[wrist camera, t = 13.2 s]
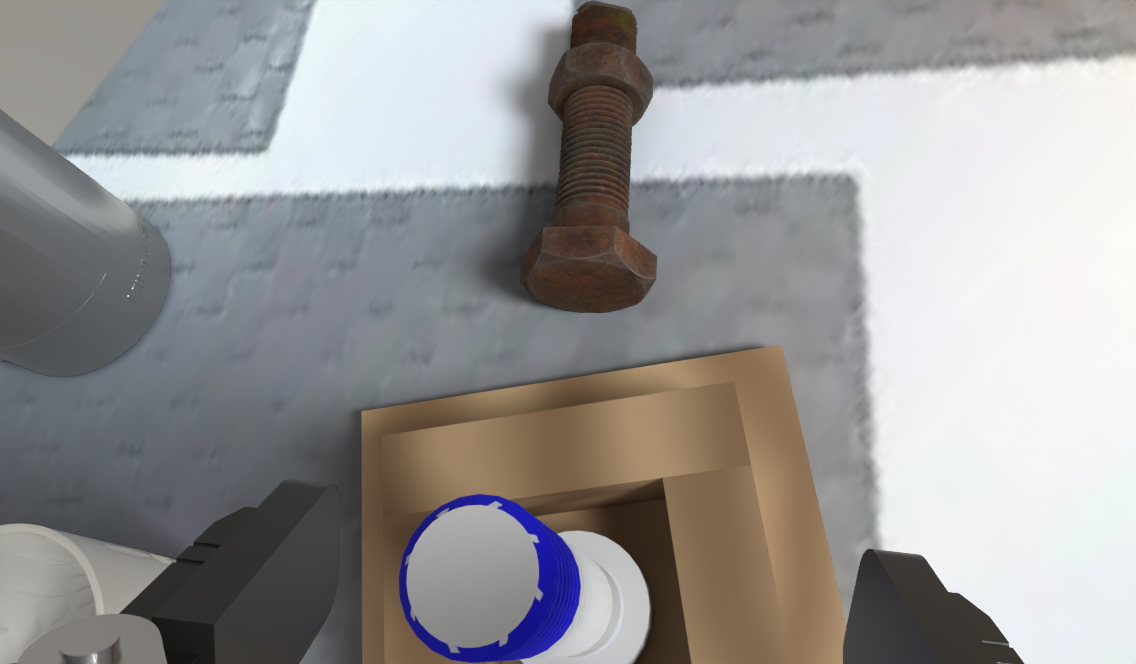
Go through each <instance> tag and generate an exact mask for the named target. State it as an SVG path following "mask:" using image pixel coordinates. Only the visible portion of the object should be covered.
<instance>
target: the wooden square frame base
mask: <svg viewBox="0 0 1136 664" xmlns="http://www.w3.org/2000/svg"><path fill="white" fill-rule="evenodd" d="M361 434H362V664H523V663H522V661H521V660H513V661H511V660H510V661H497V662H496V661H494V662H480V663H468V662H461V661H454V660H450V659H448V658H446V657H444V656H442V655H440V654H438V653H436V652H434V651H432V650H431V649H430V648H429V647H428V646H426V645H425V644H424V643H423V642H422V641H421V640H420V639H419V638H418V637H417V636H416V635H415V633H414V631H413V630H412V628H411V626H410V625H409V623H408V622H407V620H406V618H405V614H404V611H403V608H402V604H401V601H400V594H399V573H400V568H401V562H402V557H403V554H404V552H405V549H406V547H407V545H408V543H409V541H410V538H411V536H412V535H413V533H414V532H415V531H416V529H417V528H418V527H419V526H420V524H421V523H422V522H423V520H424V519H425V518H426V517H428V516H429V515H430V514H431V513H433V512H434V511H435V510H436V509H438V508H439V507H440V506H442V505H444V504H446V503H448V502H450V501H452V500H455V499H457V498H459V497H464V496H470V495H476V494H484V495H494V496H500V497H503V498H505V499H508V500H510V501H513V502H515V503H517V504H519V505H520V506H521V507H522V508H524V509H525V510H526V511H528V512H529V513H530V514H532V515H533V516H534V517H536V518H537V519H538V520H540V521H541V522H542V523H543V524H545V525H546V526H547V527H549V528H550V529H551V530H553V531H554V532H555V533H561V532H565V531H586V532H593V533H596V534H598V535H601V536H604V537H607V538H608V539H610V540H612V541H613V542H615V543H616V544H618V545H619V546H620V547H621V548H623V549H624V550H625V551H626V552H627V553H628V554H629V555H630V556H631V558H632V559H633V560H634V561H635V562H636V563H637V565H638V566H639V567H640V568H641V570H642V571H643V573H644V575H645V577H646V579H647V581H648V583H649V585H650V588H651V591H652V596H653V600H654V623H653V630H652V634H651V636H650V639H649V641H648V644H647V647H646V648H645V650H644V652H643V653H642V654H641V656H640V657H639V658H638V660H637V661H636V663H635V664H843V643H844V637H845V632H846V627H847V625H846V621H845V617H844V613H843V608H842V604H841V600H840V595H839V591H838V587H837V582H836V578H835V574H834V569H833V565H832V561H831V556H830V552H829V548H828V543H827V539H826V535H825V530H824V526H823V522H822V518H821V513H820V509H819V505H818V500H817V496H816V492H815V487H814V483H813V479H812V474H811V470H810V466H809V461H808V457H807V453H806V448H805V444H804V440H803V435H802V431H801V427H800V423H799V418H798V414H797V410H796V405H795V401H794V397H793V392H792V388H791V384H790V379H789V375H788V371H787V366H786V362H785V358H784V353H783V349H782V345H777V346H770V347H764V348H758V349H751V350H745V351H739V352H732V353H726V354H720V355H713V356H707V357H701V358H695V359H688V360H682V361H676V362H669V363H663V364H657V365H650V366H644V367H638V368H631V369H625V370H619V371H612V372H606V373H600V374H594V375H587V376H581V377H575V378H568V379H562V380H556V381H549V382H543V383H537V384H530V385H524V386H518V387H511V388H505V389H499V390H492V391H486V392H480V393H474V394H467V395H461V396H455V397H448V398H442V399H436V400H429V401H423V402H417V403H410V404H404V405H398V406H391V407H385V408H379V409H372V410H366V411H361Z"/></svg>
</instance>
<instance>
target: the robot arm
mask: <svg viewBox="0 0 1136 664" xmlns="http://www.w3.org/2000/svg"><path fill="white" fill-rule="evenodd" d="M170 278H171V258H170V254H169V250H168V246H167V244H166V242H165V240H164V238H163V237H162V235H161V233H160V232H159V231H158V230H157V229H156V228H155V227H154V226H153V225H152V224H151V223H150V222H148V221H147V220H146V219H144V218H143V217H142V216H140V215H139V214H138V213H136V212H135V211H134V210H132V209H131V208H130V207H129V206H127V205H126V204H125V203H123V202H122V201H121V200H119V199H118V198H117V197H115V196H114V195H113V194H111V193H110V192H109V191H107V190H106V189H105V188H103V187H102V186H101V185H100V184H99V183H97V182H96V181H95V180H93V179H92V178H91V177H89V176H88V175H87V174H85V173H84V172H83V171H81V170H80V169H79V168H78V167H76V166H75V165H74V164H72V163H71V162H70V161H68V160H67V159H66V158H64V157H63V156H62V155H60V154H59V153H58V152H56V151H55V150H54V149H52V148H51V147H50V146H48V145H47V144H46V143H44V142H43V141H42V140H40V139H39V138H38V137H36V136H35V135H34V134H32V133H31V132H30V131H28V130H27V129H26V128H24V127H23V126H22V125H21V124H19V123H18V122H17V121H15V120H14V119H13V118H11V117H9V115H7V114H6V113H4V112H3V111H2V110H1V109H0V361H5V360H8V361H10V362H13V363H15V364H18V365H20V366H22V367H25V368H27V369H30V370H32V371H35V372H38V373H41V374H44V375H47V376H58V377H68V376H74V375H81V374H85V373H88V372H90V371H93V370H96V369H98V368H101V367H103V366H105V365H106V364H108V363H110V362H112V361H113V360H115V359H117V358H118V357H120V356H121V355H122V354H124V353H125V352H126V351H127V350H128V349H130V348H131V347H132V346H133V345H134V344H136V342H137V341H138V340H139V339H140V338H141V337H142V336H143V335H144V333H145V332H146V331H147V330H148V329H149V328H150V326H151V324H152V323H153V321H154V320H155V318H156V317H157V315H158V313H159V312H160V310H161V307H162V305H163V303H164V300H165V298H166V295H167V293H168V288H169V283H170ZM338 556H339V493H338V490H337V487H336V486H335V485H331V484H323V483H314V482H305V481H297V480H285V481H283V482H282V483H281V484H280V485H279V486H278V487H277V488H276V489H275V490H274V491H273V492H272V493H271V494H270V495H269V496H268V497H267V498H266V499H265V500H264V501H263V502H262V503H261V505H260V506H259V507H258V508H250V507H244V508H242V509H240V510H238V511H236V512H234V513H232V514H230V515H228V516H226V517H224V518H222V519H220V520H218V521H216V522H214V523H213V524H212V525H211V526H210V527H209V528H208V529H207V530H206V531H205V532H204V533H203V534H202V535H200V536H199V537H198V538H197V539H196V540H195V541H194V544H193V546H189V547H188V548H187V549H186V550H185V551H184V552H183V553H182V554H181V555H180V556H179V557H177V561H176V563H174V562H172V563H171V564H170V565H169V566H168V567H167V568H166V569H165V570H164V571H163V572H162V573H161V574H160V575H159V576H158V577H157V578H156V579H154V580H153V581H152V582H151V583H150V584H149V585H148V586H147V587H146V588H145V589H144V590H143V591H142V592H141V593H140V594H139V595H138V596H137V597H136V598H135V599H134V600H133V601H131V602H130V603H129V604H128V605H127V606H126V607H125V608H124V609H123V610H122V611H121V612H120V613H119V614H106V615H98V616H92V617H87V618H84V619H80V620H76V621H73V622H71V623H68V624H65V625H63V626H61V627H58V628H56V629H54V630H52V631H50V632H49V633H47V634H45V635H43V636H42V637H40V638H39V639H38V640H36V641H35V642H33V643H32V644H31V645H30V646H29V647H28V648H27V649H26V650H25V651H24V652H23V654H22V655H21V656H20V658H19V660H18V662H17V663H13V664H299V663H300V661H301V660H302V658H303V656H304V655H305V653H306V652H307V650H308V648H309V647H310V645H311V643H312V642H313V640H314V638H315V637H316V635H317V634H318V632H319V630H320V629H321V627H322V625H323V624H324V622H325V621H326V619H327V617H328V615H329V613H330V610H331V608H332V605H333V602H334V598H335V594H336V589H337V583H338ZM843 664H1024V663H1023V661H1022V660H1021V658H1020V657H1019V656H1018V654H1017V653H1016V652H1015V650H1014V649H1013V648H1009V642H1008V641H1007V640H1006V638H1005V637H1004V636H1003V634H1002V633H1001V631H1000V630H999V629H998V627H997V626H996V625H995V623H994V622H993V621H992V619H991V618H990V617H989V616H988V615H986V614H985V613H984V612H983V611H981V610H980V609H979V608H977V607H976V606H975V605H973V604H972V603H971V602H970V601H968V600H967V599H966V598H964V597H963V596H962V595H960V594H959V593H951V592H948V591H947V590H946V588H945V587H944V585H943V584H942V583H941V581H940V580H939V578H938V577H937V575H936V574H935V572H934V571H933V569H932V568H931V567H930V565H929V564H928V562H927V561H926V559H925V558H924V557H923V556H921V555H918V554H909V553H901V552H892V551H884V550H875V549H868V550H866V551H865V553H864V554H863V556H862V559H861V562H860V566H859V570H858V575H857V580H856V585H855V589H854V594H853V599H852V603H851V608H850V613H849V618H848V622H847V627H846V632H845V637H844V643H843Z"/></svg>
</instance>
